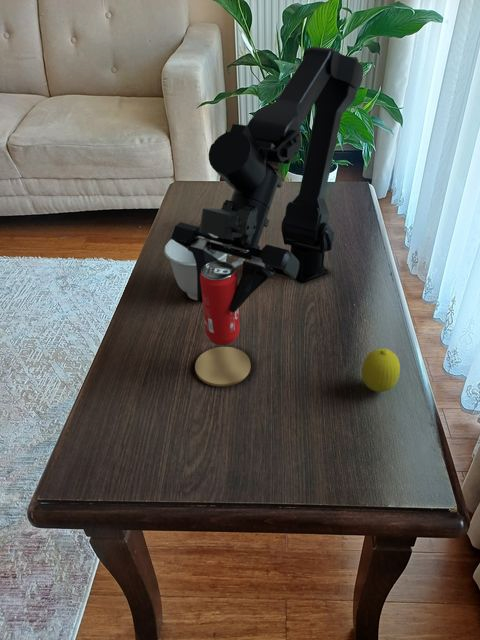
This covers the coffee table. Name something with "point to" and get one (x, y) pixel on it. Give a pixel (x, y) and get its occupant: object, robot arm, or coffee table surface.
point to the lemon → (381, 370)
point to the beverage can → (219, 302)
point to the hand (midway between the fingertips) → (215, 306)
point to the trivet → (222, 366)
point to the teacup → (189, 266)
